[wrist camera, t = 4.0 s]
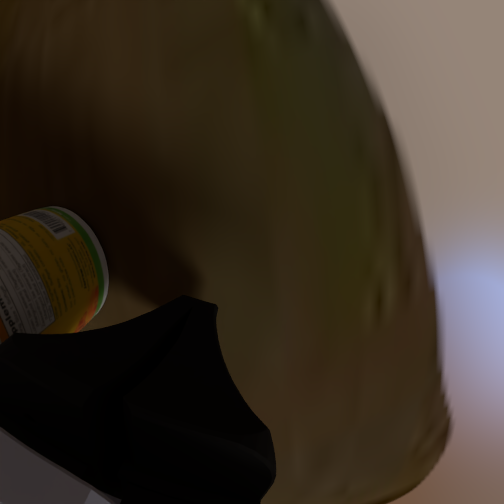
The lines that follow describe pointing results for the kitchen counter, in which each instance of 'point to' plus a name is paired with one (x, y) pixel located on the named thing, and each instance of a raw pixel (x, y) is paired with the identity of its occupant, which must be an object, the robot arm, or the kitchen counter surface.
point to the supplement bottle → (49, 273)
